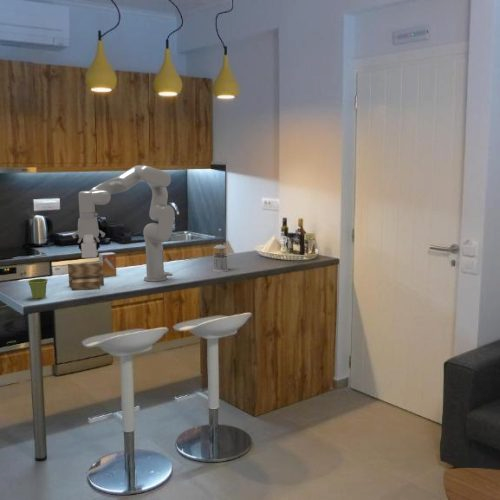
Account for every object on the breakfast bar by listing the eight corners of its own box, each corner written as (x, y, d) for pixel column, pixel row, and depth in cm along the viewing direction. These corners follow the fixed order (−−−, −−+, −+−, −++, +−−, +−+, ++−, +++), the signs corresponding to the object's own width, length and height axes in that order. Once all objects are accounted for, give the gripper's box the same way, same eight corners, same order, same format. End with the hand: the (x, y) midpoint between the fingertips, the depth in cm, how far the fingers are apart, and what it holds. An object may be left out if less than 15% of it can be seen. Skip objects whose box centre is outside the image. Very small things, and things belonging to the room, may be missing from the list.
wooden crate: (103, 284, 335) (102, 262, 333) (103, 288, 325) (102, 266, 323) (69, 286, 331) (68, 264, 329) (68, 290, 321) (66, 267, 319)
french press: (226, 267, 378) (225, 227, 373) (231, 271, 367) (231, 229, 362) (210, 269, 375) (209, 228, 370) (215, 272, 364) (214, 230, 360)
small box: (103, 277, 353) (102, 254, 351) (99, 275, 358) (98, 253, 356) (116, 275, 358) (115, 253, 355) (112, 273, 363) (111, 251, 361)
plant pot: (39, 300, 301) (38, 283, 299) (24, 298, 304) (23, 281, 303) (53, 296, 309) (51, 279, 308) (38, 294, 313) (37, 277, 311)
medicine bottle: (83, 255, 319) (82, 232, 317) (97, 255, 320) (96, 232, 318) (81, 258, 312) (80, 234, 310) (96, 257, 313) (94, 234, 311)
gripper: (105, 214, 318) (106, 247, 321) (69, 215, 314) (72, 249, 317) (105, 215, 311) (107, 250, 314) (69, 217, 307) (71, 252, 310)
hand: (89, 249), depth 316 cm, fingers closed on medicine bottle, 7 cm apart
